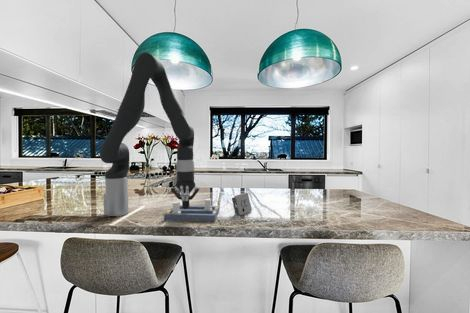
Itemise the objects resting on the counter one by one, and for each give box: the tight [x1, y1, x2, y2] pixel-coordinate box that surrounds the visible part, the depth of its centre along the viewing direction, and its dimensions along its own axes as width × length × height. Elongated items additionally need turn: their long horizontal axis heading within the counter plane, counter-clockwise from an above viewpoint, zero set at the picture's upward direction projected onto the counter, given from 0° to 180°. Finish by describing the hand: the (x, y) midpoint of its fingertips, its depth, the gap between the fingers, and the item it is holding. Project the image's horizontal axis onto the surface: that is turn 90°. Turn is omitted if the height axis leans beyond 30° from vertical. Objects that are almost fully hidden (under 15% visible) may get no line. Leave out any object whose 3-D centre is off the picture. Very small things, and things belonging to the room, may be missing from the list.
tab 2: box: [204, 198, 212, 210], centre depth 107 cm, size 3×3×6 cm
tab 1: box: [172, 201, 181, 213], centre depth 102 cm, size 3×3×6 cm
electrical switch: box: [231, 192, 253, 216], centre depth 109 cm, size 9×5×9 cm, turn 141°
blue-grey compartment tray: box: [163, 205, 220, 222], centre depth 105 cm, size 22×14×3 cm, turn 86°
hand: (185, 208), depth 101 cm, fingers closed
